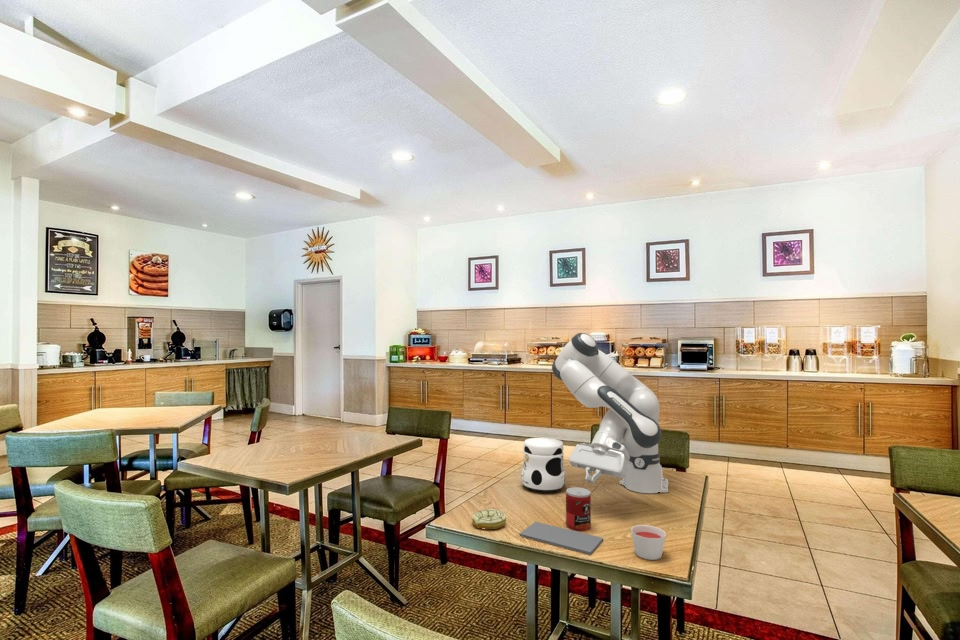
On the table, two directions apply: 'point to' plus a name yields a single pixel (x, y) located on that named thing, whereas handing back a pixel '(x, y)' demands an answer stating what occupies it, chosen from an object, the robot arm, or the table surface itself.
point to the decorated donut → (489, 519)
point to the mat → (562, 537)
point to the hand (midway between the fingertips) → (589, 481)
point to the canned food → (578, 508)
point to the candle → (648, 541)
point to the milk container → (543, 464)
